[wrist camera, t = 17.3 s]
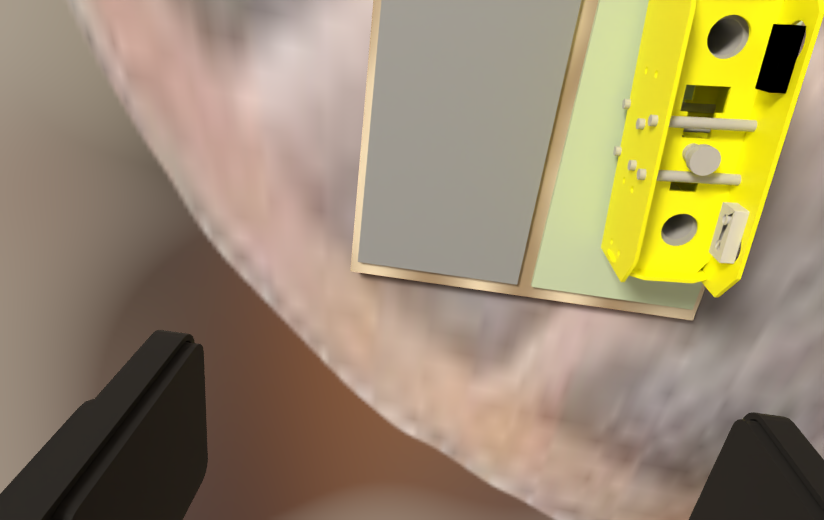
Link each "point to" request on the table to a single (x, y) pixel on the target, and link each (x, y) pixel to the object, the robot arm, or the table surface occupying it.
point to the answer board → (501, 149)
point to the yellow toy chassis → (704, 135)
